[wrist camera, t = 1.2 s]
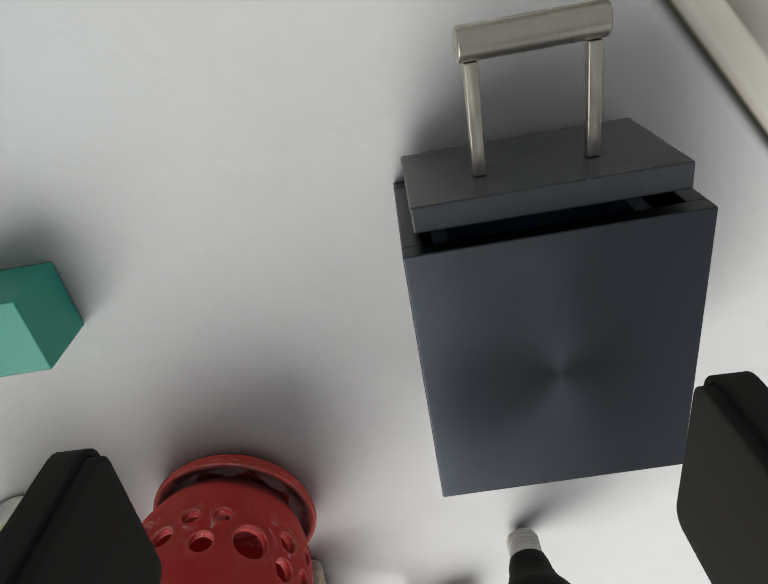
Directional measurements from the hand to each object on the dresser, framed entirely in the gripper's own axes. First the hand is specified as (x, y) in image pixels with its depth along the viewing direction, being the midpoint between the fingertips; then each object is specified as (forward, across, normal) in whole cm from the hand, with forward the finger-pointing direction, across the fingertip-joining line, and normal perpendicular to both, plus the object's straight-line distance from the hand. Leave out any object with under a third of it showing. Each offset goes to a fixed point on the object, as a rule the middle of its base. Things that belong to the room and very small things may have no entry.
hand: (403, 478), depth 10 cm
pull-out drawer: (+23, -7, +5) cm, 24 cm away
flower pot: (+24, +15, +26) cm, 39 cm away
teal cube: (+24, +22, +7) cm, 33 cm away
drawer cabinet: (+24, -7, +10) cm, 27 cm away
